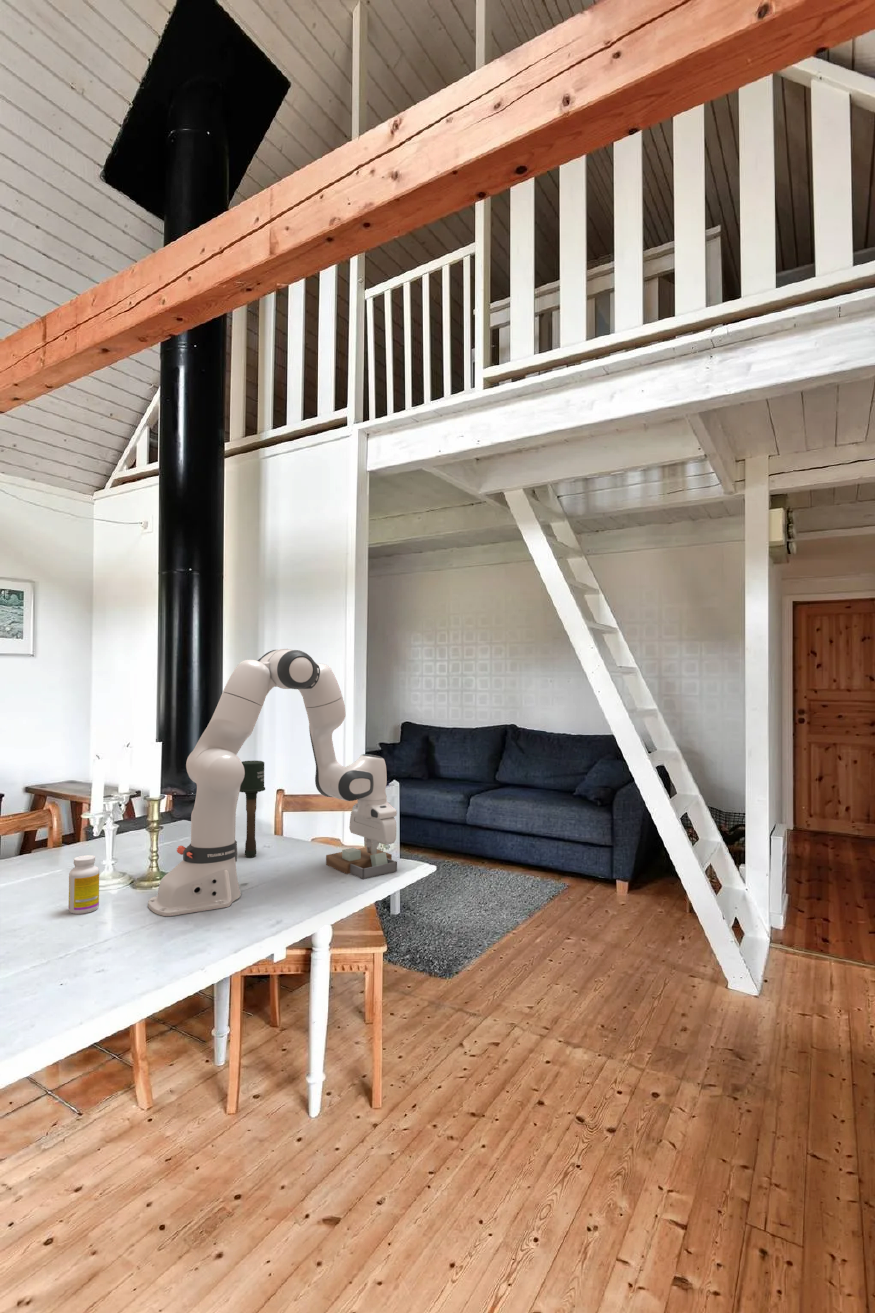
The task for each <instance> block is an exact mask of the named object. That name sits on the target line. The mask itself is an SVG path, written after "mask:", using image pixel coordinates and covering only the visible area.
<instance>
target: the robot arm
mask: <svg viewBox="0 0 875 1313" xmlns="http://www.w3.org/2000/svg"><path fill="white" fill-rule="evenodd" d="M274 687H277V688H279V689H283V690H298V692H299V693H300V694H301V696H302V700H303V703H304V704H303V705H304V709H305V711H306V714H307V720H308V729H309V730H308V731H309V736H310V742H311V748H312V751H313V758H314V762H315V775H314V776H315V777H314V780H315V782H314V783H315V787H316V790H317V791H318V792H319V794H321V795H323V796H324V797H326V798H327V797H328V798H334V799H338V800H341V801H346V802H353V801H354V802H355V801H357V803H354V804H353V806H352V810H351V812H350V816H349V827H348V828H349V832H350V833H351V834H353V835H356V836H360V837H362V838H364V843H365V847H367V852H368V853H370V854H376V853H377V849H378V847H379V845H380V844H382V845H392V844H394V843H395V842H396V840H397V819H396V817H397V814H398V811H397V809H396V808H395V807H393V806H392V805H391V804H390V803H389V802H388V798H387V793H386V787H387V784H388V783H387V782H388V781H387V779H388V778H387V775H388V774H387V765H386V761H385V758H383V757H382V756H380V755H374V754H368V753H363V754H361V755H359V757H358V758H357V759H356V760H355V761H354V762H352V763H351V764H348V765H347V766H344V765H341V764H340V763H339V761H338V760H337V758H336V757H337V756H336V753H335V748H334V747H335V746H334V741H333V732H334V731H335V730H337V729H339V727H340V726H342V724H343V722H344V720H345V718H346V705H345V700H344V697H343V694H342V691H341V688H340V686H339V683H338V680H337V678H336V676H335V672H333V670H332V668H331V667H330V666H329V665H327V664H325V663H317V662H315V660H314V659H313V657H311V655H309V654H308V653H306V652H305V651H302V650H297V649H290V648H280V649H271V650H269V651H267V652H266V653H265V654H263V655H262V656H260V658H258V660H256V659H244V660H242V661H240V662H239V663H238V664H237V665H236V667H235V668H234V670H233V672H232V673H231V675H230V676H229V679H228V680H227V682H226V684H225V686H224V689H223V691H222V693H221V695H220V698H219V699H218V703H217V706H216V707H215V710H214V712H213V714H212V716H211V719H210V720H209V723H208V724H207V727H206V728H205V729H204V731H203V732H202V734H201V736H200V737H199V739H198V741H197V742H196V744H195V747H194V748H193V750H192V751H191V752H190V753H189V755H188V756H187V759H186V764H185V768H186V772H187V775H188V778H189V779H190V780H191V781H192V782H193V783H195V784H196V793H195V794H196V795H195V799H194V800H195V801H194V806H193V808H192V811H191V816H190V843H189V845H188V846H187V847H185V846H184V845H179V846H178V847H177V848H176V853H178V854H179V855H182V860H181V861H180V862H179V863H178V864H177V865H176V866H175V867H173V868H172V869H171V870H170V871H169V872H168V873H166V874H165V875H163V877H162V878H161V880H160V882H159V886H158V890H157V895H155V896H152V897H150V898H149V899H148V903H147V906H148V909H149V910H150V911H151V912H153V913H155V914H156V915H159V916H164V917H172V916H179V915H185V914H192V913H196V912H202V911H203V912H205V911H210V910H215V909H222V908H228V907H230V906H231V905H232V904H233V902H235V901H236V900H238V899H239V898H241V896H242V893H241V889H240V885H239V880H238V874H237V873H238V872H237V865H236V864H237V861H238V860H237V859H238V841H237V840H236V818H237V817H236V815H237V814H236V813H237V806H238V802H239V796H240V793H241V792H240V786H241V783H242V781H243V779H244V775H245V770H244V766H243V764H242V761H241V759H240V758H239V756H238V753H239V751H240V750H241V748H242V747H243V745H244V744H245V742H246V741H247V739H248V738H249V737H250V736H251V735H252V734H253V731H254V729H255V726H256V723H257V721H258V720H259V715H260V714H261V711H262V709H263V707H264V704H265V701H266V697H267V696H268V694H269V693H270V691H271V690H272V689H273V688H274Z"/></svg>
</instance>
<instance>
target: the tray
mask: <svg viewBox="0 0 875 1313" xmlns="http://www.w3.org/2000/svg"><path fill="white" fill-rule="evenodd" d="M387 862H388V863H387V864H383V865H378V866H374V867H369V868H365V869H363V868H361V867H358V866H356V865H353V864H350V874H349V875H351V876H354V877H357V878H359V879H361V880H366V879H367V880H368V879H370V878H374V877H380V876H383V875H387V874H391V873H397V872H398V861H395V860H393V859H392V860H391V859H388V858H387Z"/></svg>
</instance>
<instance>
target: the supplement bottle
mask: <svg viewBox="0 0 875 1313" xmlns="http://www.w3.org/2000/svg"><path fill="white" fill-rule="evenodd" d="M95 862H96V856H95V855H92V854H91V855H85V854H84V855H80V856H76V857H74V858H73V865H74V867H73V868H72V869H70V871H69V873H68V875H69V876H68V912H69V913H71V914H74V915H82V914H83V915H84V914H89V913H92V912H94V911H96V910H98V908H99V906H100V869H99V867H98V866H96V865H95Z"/></svg>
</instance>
